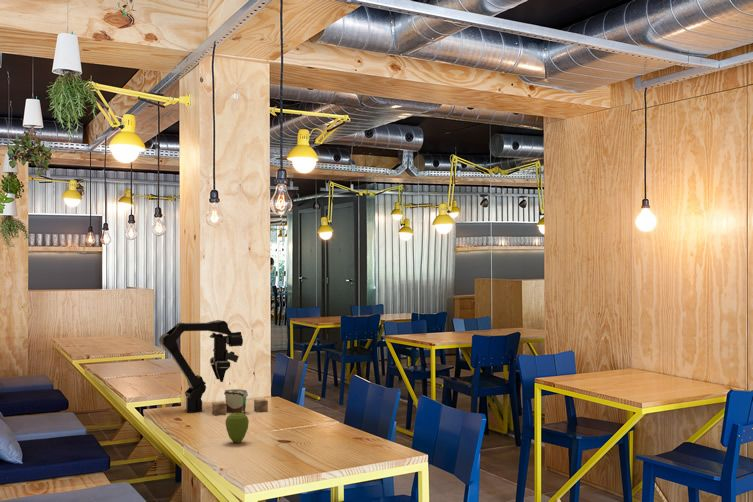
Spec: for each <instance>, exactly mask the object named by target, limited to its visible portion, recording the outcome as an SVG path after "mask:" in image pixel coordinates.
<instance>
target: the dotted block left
mask: <svg viewBox="0 0 753 502" xmlns="http://www.w3.org/2000/svg"><path fill="white" fill-rule="evenodd" d="M211 408H212V410H211V411H212V412H211V414H212V415H213V416H215V417H216V416H226V414H227V413H226V402H224V401H217V402H212V407H211Z"/></svg>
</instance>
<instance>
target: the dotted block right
mask: <svg viewBox="0 0 753 502" xmlns="http://www.w3.org/2000/svg"><path fill="white" fill-rule="evenodd" d="M253 411H254V412H255V413H267V412H268V411H269V401H268V400H267V399H265V398H262V399H261V398H260V399H254V400H253Z"/></svg>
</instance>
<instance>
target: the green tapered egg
mask: <svg viewBox="0 0 753 502" xmlns="http://www.w3.org/2000/svg"><path fill="white" fill-rule="evenodd" d="M249 423H250V421H249V417H248V416H247V415H246V413H245V414H244V413H238V412H237V413H229V415H228V416H227V417H226V419H225V423H224V424H225V427H226V431H227V434H228V437H229V439H230V440H231V441H232V442H233V443H238V444H239V443H242V442H243V440H244V438H245V437H246V434H247V431H248V430H249V429H248V428H249Z"/></svg>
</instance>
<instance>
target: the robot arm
mask: <svg viewBox="0 0 753 502" xmlns="http://www.w3.org/2000/svg"><path fill="white" fill-rule="evenodd" d="M206 331H208V332H212V334H210V335H209V338H210V339H213V348H212V352H213V356H212V357H210V359H209V364H210V367H211V369H212V371H213V374H214V376H215V378H216V380H219V382H220V383H224V378H225V374H226V373H227V371H228V370H229V369H230V368H231V362H230V361H232V362H234V363H238V361H239V355H238V354H235V352H234V351H232V350H231V351H230V352H229V350H228V349H227V345H228V347H230V348H231V347H232V348H233V347H242V346H243V343H244V339H243V335H242V331H236V332H235V331H233V332H232V330H230V328H229V325H228V322H227V321H225V320H222V319H221V320H220V319H217V320H216V319H215V320H212V321H207V322H177V323H176V325H174V326H173V327H172V328H170V329H169V330H168V331H167V332H166V333H164V334H161V336H159V340H158V342H159V344H160V345H161V346H162V348H163V349H164V350H166V352H168V354H170V356H171V357H172V358H173V360H174V362H175V363H176V365H177V366H178V368H179V369H180V371H181V372H182V374H183V375H184V377H185V379H186V382H187V385H188V388H187V389H186V391H184V394H185V411H186V413H200V412H203V400H202V397H203V395H204V393H205V392H206V389H207V386H206V384H207V383H206V382H205V381H204V380H203V379H204V378H203V377H202V376H201V375H198V374H197V375H196V374H195V372H194V371H193V369H192V368H191V366H190V364H189V362H187V360H186V358H185V357H184V356H183V353H182V352H181V351H180V349H179V348H180V347H179V346H178V345H179V344H178V342H177V341H178V339H179V338H180V337H181V335H182V334H183V333H184V332H206Z"/></svg>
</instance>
